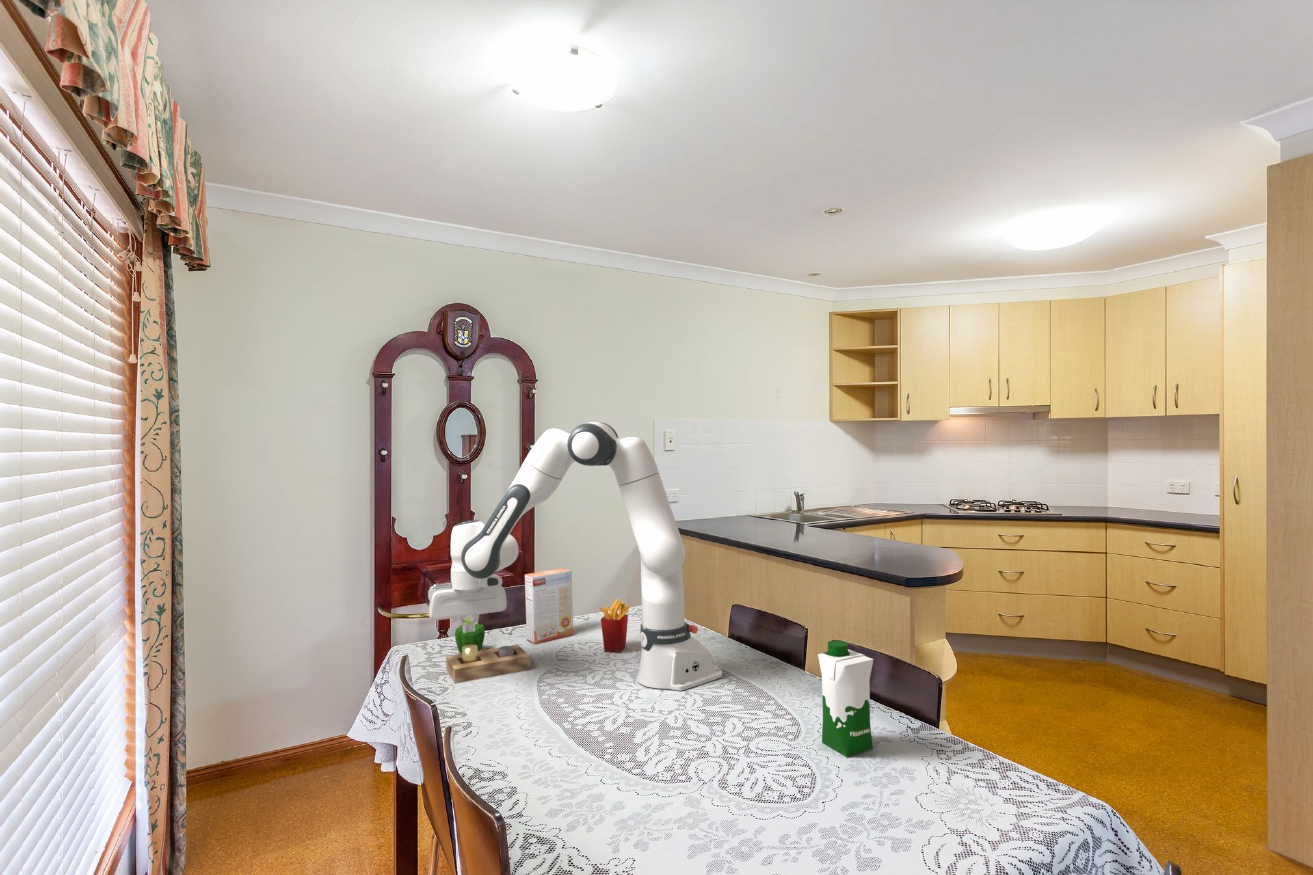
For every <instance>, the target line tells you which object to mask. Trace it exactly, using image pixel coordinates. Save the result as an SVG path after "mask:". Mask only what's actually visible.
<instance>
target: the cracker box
mask: <svg viewBox="0 0 1313 875" xmlns="http://www.w3.org/2000/svg"><path fill="white" fill-rule="evenodd" d="M572 580H573V578H572V570H571V569H566V568H564V567H563V568H557V569H549V570H544V571H537V572H532V573H526V574H524V592H525V593H524V594H525V595H524V596H525V622H526V624H525V625H526V626H525V627H526V641H529V642H530V643H533V644H536V645H537V644H539V643H544V642H549V641H552V640H557V639H560V638H566V637H570V636H573V635H574V613H573V612H574V610H573V585H572V584H573V581H572Z"/></svg>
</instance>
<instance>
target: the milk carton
mask: <svg viewBox="0 0 1313 875" xmlns="http://www.w3.org/2000/svg"><path fill="white" fill-rule="evenodd" d="M817 657H818V661H819V668H820V672H821V685H822V686H821V687H822V688H821V690H822V698H821V699H822V728H821V729H822V731H821V743H822V744H824V745H826V746H827V747H828V748H830V749H832V750H834V751H835V752H837V753H839V754H841V755H842V756H844V757H845V758H849V757H851V756H854V755H857V754H861V753H863V752H867V751H870V750H874V746H873V737H872V728H871V727H872V726H871V707H870V706H871V704H870V702H871V700H870V699H871V698H870V697H871V696H870V695H871V694H870V692H871V691H870V690H871V689H870V679H871V674H872V668H873V664H874V658H871V657H868V656H866V655H865V654H863V653H859V652H858V651H857V652H856V651H854V650H851V649H849V644H848V642H846V641H843V640H829V641H828V642H827V651H826V652H825V651H823V652H822V653H819V654H817Z"/></svg>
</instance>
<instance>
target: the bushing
mask: <svg viewBox="0 0 1313 875" xmlns="http://www.w3.org/2000/svg"><path fill="white" fill-rule="evenodd" d="M477 661H478V650H477V645H465V646H463V647H462V664H465V663H471V662H477Z"/></svg>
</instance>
